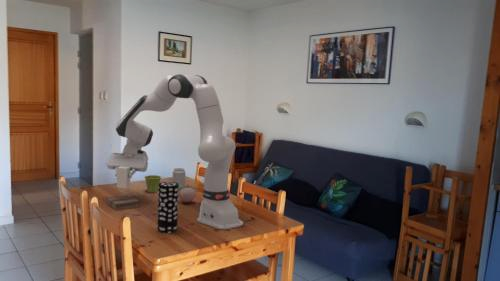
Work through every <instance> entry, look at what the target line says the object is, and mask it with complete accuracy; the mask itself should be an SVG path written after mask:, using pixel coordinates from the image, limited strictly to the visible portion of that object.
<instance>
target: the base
mask: <svg viewBox="0 0 500 281" xmlns="http://www.w3.org/2000/svg"><path fill="white" fill-rule="evenodd" d="M140 202H141V201H140V200H139V199H137V198H135V197H134V196H131V195H124V196H116V197H108V198H106V204H107V205H108V206H109V207H111V208H112V209H114V210H115V211H121V210H128V209H134V208H135V209H136V208H140V207H141V205H140V204H141V203H140Z"/></svg>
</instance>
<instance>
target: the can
mask: <svg viewBox="0 0 500 281" xmlns="http://www.w3.org/2000/svg"><path fill="white" fill-rule="evenodd" d="M171 182H175V183H178V184H179V188H180V187H182V186H186V171H185V168H181V167H177V168H173V171H172V181H171ZM179 188H178V190H180V189H181V188H180V189H179Z"/></svg>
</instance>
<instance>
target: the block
mask: <svg viewBox="0 0 500 281" xmlns="http://www.w3.org/2000/svg"><path fill="white" fill-rule="evenodd" d="M131 172H132V171H131V168H130V167H122V166H120V167H118V168H117V177H116V188H118V189H127V188H128V189H129V187H131V178H128V173H131Z"/></svg>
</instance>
